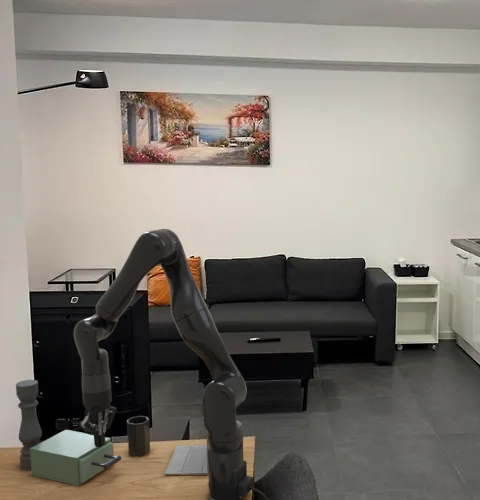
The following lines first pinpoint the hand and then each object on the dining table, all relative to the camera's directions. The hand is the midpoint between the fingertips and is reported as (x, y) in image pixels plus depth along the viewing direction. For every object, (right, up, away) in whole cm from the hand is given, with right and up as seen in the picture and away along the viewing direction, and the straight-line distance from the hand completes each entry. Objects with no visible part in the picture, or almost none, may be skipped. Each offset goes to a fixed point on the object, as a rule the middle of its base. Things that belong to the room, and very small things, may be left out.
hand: (100, 446), depth 183 cm
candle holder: (-23, -8, +7) cm, 25 cm away
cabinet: (-10, -8, +5) cm, 14 cm away
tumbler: (+6, -7, +16) cm, 18 cm away
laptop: (+23, -8, +11) cm, 27 cm away
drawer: (-6, -8, +3) cm, 10 cm away
